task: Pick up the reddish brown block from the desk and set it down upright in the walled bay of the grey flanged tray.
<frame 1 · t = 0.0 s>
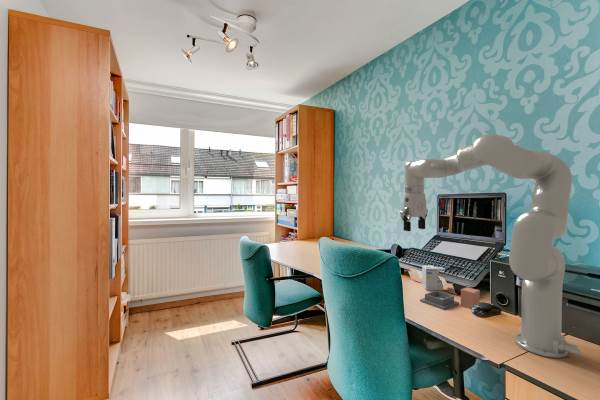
hand: (414, 229, 128), 31 cm above the table, tool pointing down, fingers open, 9 cm apart
light bulb box: (434, 288, 145), on the table
reddish brown block: (470, 306, 122), on the table
grey flanged tray: (439, 302, 127), on the table
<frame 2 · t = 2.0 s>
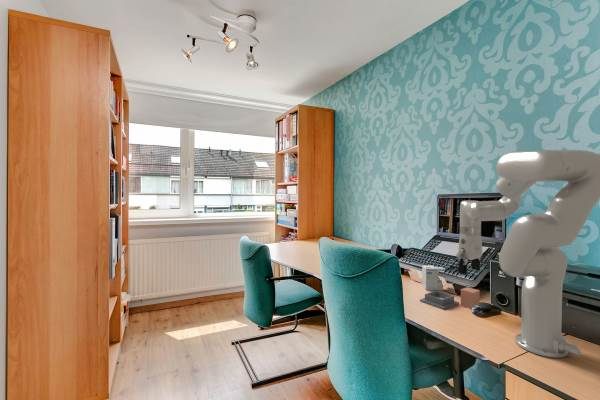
hand: (469, 271, 122), 14 cm above the table, tool pointing down, fingers open, 9 cm apart
nothing on the table moved.
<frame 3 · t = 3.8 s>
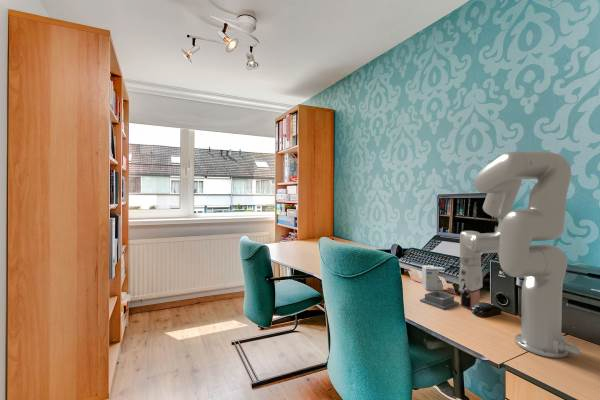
hand: (469, 304, 122), 1 cm above the table, tool pointing down, fingers closed on reddish brown block, 5 cm apart
reddish brown block: (469, 306, 122), on the table, touching gripper
everything else where it was.
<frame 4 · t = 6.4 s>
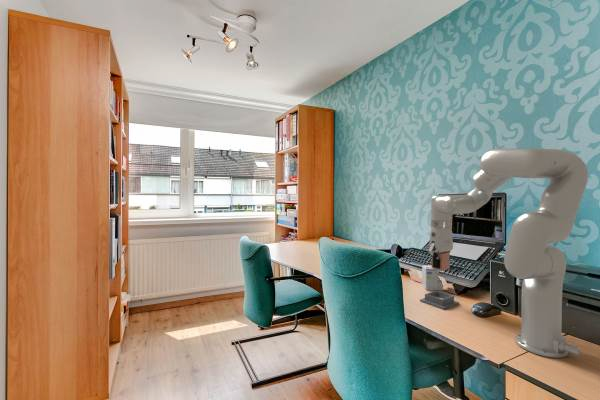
hand: (440, 266, 126), 16 cm above the table, tool pointing down, fingers closed on reddish brown block, 5 cm apart
reddish brown block: (440, 268, 126), point 15 cm above the table, touching gripper
everything else where it was.
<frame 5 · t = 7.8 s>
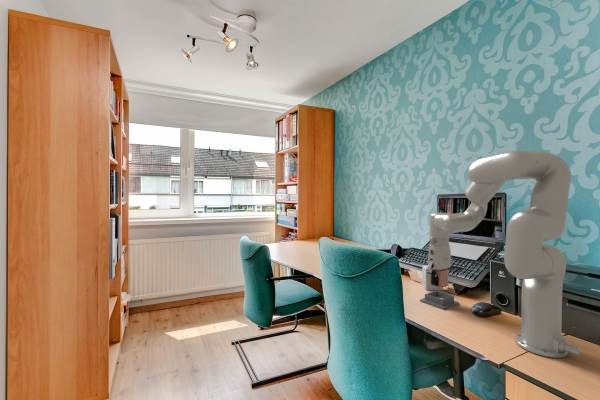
hand: (438, 283, 127), 8 cm above the table, tool pointing down, fingers closed on reddish brown block, 5 cm apart
reddish brown block: (438, 285, 127), point 7 cm above the table, touching gripper
everything else where it was.
when the fingers open (4 cm above the table, at t = 8.9 s): reddish brown block drops 3 cm, resting on grey flanged tray.
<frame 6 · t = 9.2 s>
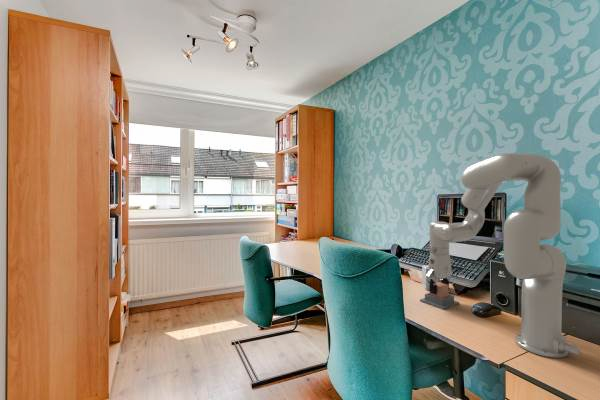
hand: (439, 291, 126), 5 cm above the table, tool pointing down, fingers open, 7 cm apart
reddish brown block: (439, 300, 127), point 1 cm above the table, touching grey flanged tray
everything else where it was.
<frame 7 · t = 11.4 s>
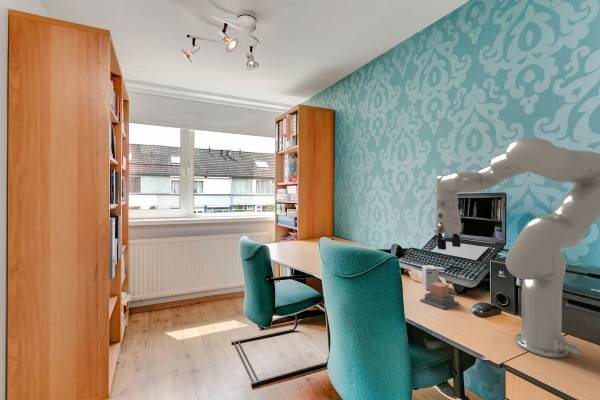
hand: (449, 247, 119), 25 cm above the table, tool pointing down, fingers open, 9 cm apart
nothing on the table moved.
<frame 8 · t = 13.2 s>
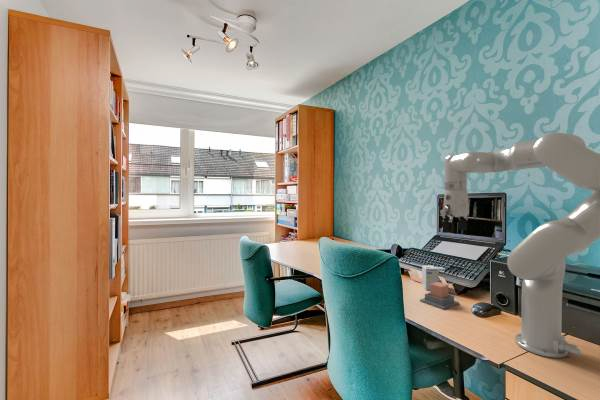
hand: (455, 231, 114), 32 cm above the table, tool pointing down, fingers open, 9 cm apart
nothing on the table moved.
at the end: reddish brown block 0.0 cm off-centre on the grey flanged tray, point 0.9 cm above the grey flanged tray's base; reddish brown block tilted 0°; the gripper is holding nothing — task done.
